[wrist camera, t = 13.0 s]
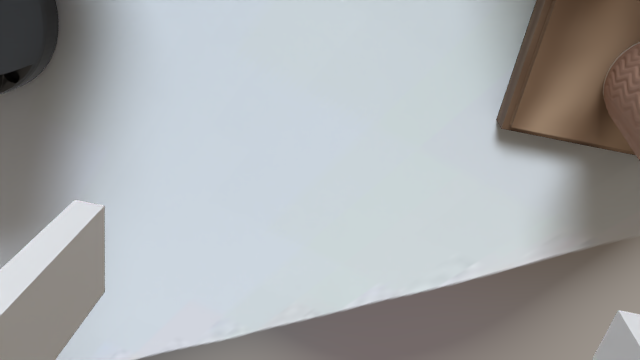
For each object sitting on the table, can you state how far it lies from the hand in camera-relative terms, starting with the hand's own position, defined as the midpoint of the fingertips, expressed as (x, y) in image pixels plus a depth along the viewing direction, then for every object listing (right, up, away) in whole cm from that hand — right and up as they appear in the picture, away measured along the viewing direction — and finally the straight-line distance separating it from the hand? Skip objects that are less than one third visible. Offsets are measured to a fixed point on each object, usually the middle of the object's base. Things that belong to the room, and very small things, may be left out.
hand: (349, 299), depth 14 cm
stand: (+22, +12, +30) cm, 40 cm away
